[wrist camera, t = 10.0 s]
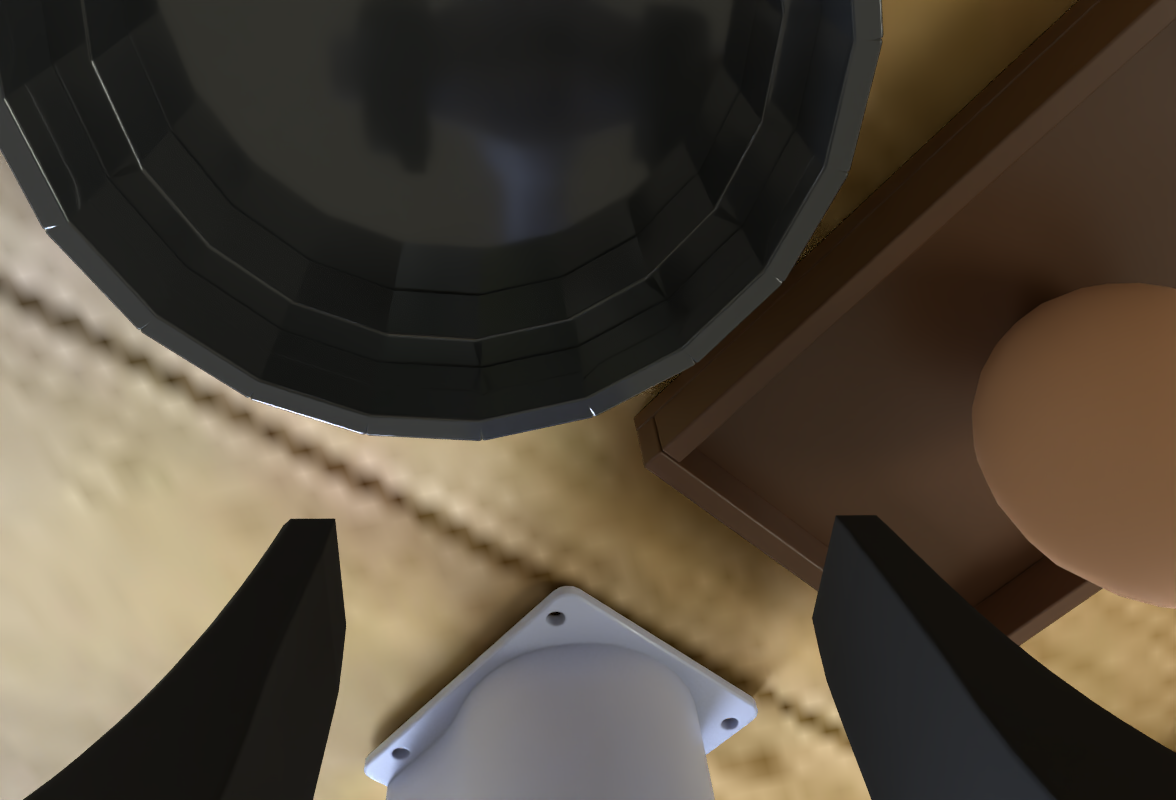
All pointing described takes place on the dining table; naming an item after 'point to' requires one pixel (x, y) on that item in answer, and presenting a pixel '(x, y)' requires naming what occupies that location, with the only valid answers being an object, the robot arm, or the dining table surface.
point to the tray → (938, 319)
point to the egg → (1089, 435)
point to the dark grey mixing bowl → (435, 187)
